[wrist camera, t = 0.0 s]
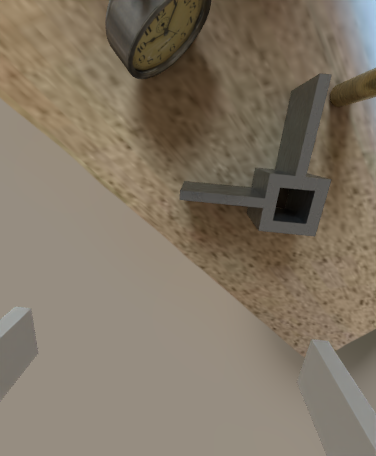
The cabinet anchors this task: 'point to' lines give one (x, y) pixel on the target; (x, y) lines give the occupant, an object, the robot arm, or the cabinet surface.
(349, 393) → the robot arm
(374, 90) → the hinge pin
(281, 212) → the hinge leaves
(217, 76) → the cabinet surface
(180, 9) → the alarm clock
